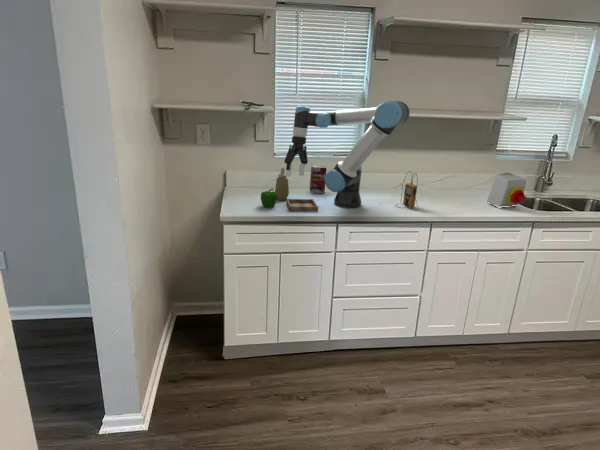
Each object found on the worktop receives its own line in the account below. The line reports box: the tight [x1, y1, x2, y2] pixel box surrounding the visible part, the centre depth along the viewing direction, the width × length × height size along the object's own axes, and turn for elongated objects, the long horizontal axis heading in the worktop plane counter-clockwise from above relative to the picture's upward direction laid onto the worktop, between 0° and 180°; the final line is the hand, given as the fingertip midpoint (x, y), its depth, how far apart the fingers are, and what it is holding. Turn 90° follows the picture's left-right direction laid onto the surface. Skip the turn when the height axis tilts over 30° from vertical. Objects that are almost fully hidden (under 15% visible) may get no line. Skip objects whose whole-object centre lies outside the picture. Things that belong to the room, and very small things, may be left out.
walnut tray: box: [285, 198, 319, 213], centre depth 225 cm, size 15×15×2 cm
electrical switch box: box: [486, 171, 527, 207], centre depth 243 cm, size 15×15×20 cm
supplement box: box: [309, 165, 327, 194], centre depth 255 cm, size 9×5×16 cm, turn 104°
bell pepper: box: [260, 187, 278, 209], centre depth 221 cm, size 8×8×10 cm
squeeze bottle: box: [274, 167, 290, 201], centre depth 236 cm, size 8×8×18 cm
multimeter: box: [400, 170, 419, 211], centre depth 232 cm, size 15×10×20 cm
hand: (294, 175), depth 228 cm, fingers open, 13 cm apart
